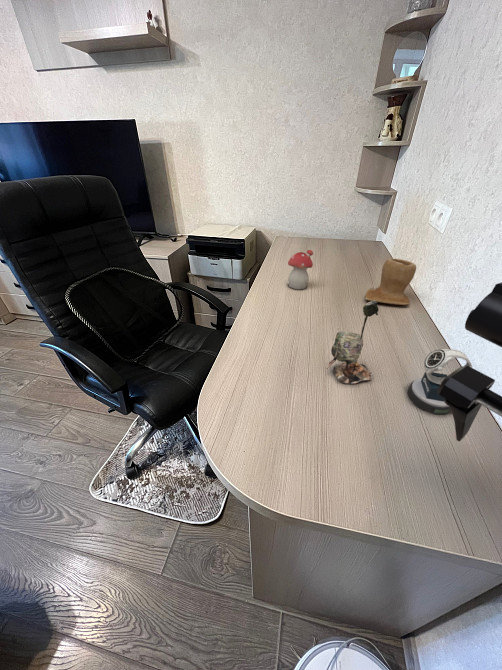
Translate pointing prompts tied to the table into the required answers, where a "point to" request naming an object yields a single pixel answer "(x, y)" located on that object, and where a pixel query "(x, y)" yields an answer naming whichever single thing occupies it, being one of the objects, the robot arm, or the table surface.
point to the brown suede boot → (393, 282)
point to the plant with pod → (351, 351)
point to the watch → (437, 363)
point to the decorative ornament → (300, 269)
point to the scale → (426, 400)
